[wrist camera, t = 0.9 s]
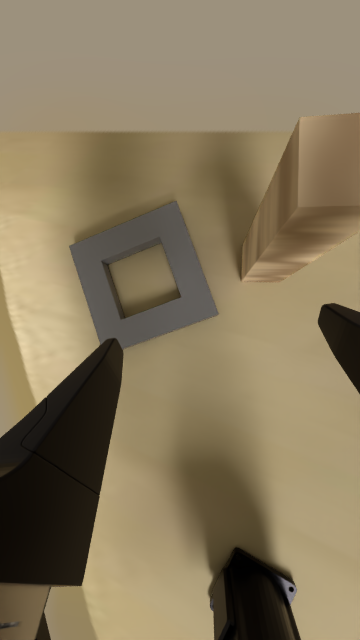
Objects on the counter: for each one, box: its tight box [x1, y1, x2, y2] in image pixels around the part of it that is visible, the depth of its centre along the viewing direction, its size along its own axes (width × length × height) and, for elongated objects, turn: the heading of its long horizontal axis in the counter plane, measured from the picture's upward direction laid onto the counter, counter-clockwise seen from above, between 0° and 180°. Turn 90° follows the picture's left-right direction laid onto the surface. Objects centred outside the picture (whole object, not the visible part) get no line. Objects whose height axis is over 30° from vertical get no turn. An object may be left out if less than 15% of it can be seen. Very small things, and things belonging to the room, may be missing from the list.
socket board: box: [69, 201, 218, 350], centre depth 23 cm, size 13×13×2 cm
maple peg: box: [241, 113, 360, 282], centre depth 16 cm, size 4×4×14 cm
